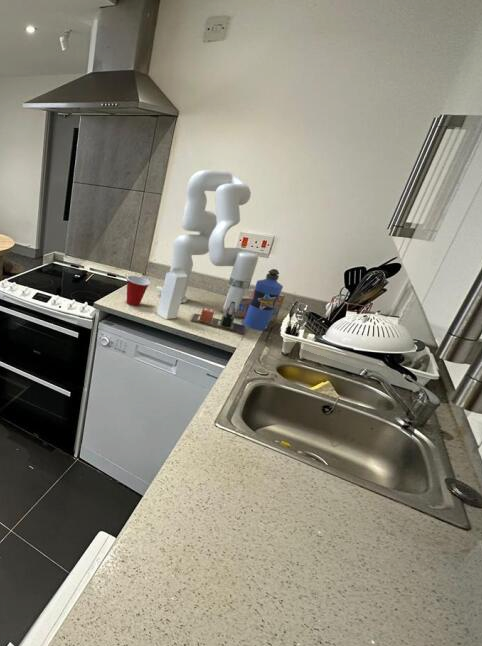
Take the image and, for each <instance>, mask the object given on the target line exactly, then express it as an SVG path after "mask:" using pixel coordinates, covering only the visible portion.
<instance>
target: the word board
mask: <svg viewBox="0 0 482 646" xmlns="http://www.w3.org/2000/svg"><path fill="white" fill-rule="evenodd" d="M200 316H201V314H199V313H194V314H193V316H192V318H191V320H190V322H192V323H195V324H200V325H204V326H207V327H211V328H216V329H219V330H223V331H226V332H230V333H231V332H232V333H235V334H239V335H244V333H245V325H244V324H240V323H236V322H233V325H232V328H230V327H225V326H222V325H220V322H221V318H217V317H213V318H212V321H211V323H210V322H206V321H202V320H200Z"/></svg>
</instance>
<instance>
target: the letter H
mask: <svg viewBox="0 0 482 646" xmlns="http://www.w3.org/2000/svg"><path fill="white" fill-rule="evenodd" d="M200 315H201V316H200V320H202V321H206V322H210V323H211V321H212V318H214V315H215V309H213V308H208V307H203V308H202V310H201V314H200Z"/></svg>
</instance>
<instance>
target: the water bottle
mask: <svg viewBox="0 0 482 646" xmlns="http://www.w3.org/2000/svg"><path fill="white" fill-rule="evenodd" d="M279 277H280V272H279V271H278V269H275V268H271V269H270V270H268V273H266V276H265V278H264V279H258V280H256V283H255V287H254V289H255V291H254V296H253V299H252V301H251V303H250V305H249V308H248V311H247V313H246V316H245V318H244V319H243V322H242V323H243V324H242V325H244V326H246V327H248V328H250V329H253V330H258V331H266V330H267V329H268V327H269V324H270V322H271V321H270V319H271V316H272V313H273V311H274V306H275V302H276V300H277V298H278V296H279V294H280V293H281V294H282V291H283V288H284V286H283V285H282V284H281V283H280V282H278V280H279ZM266 326H268V327H267V328H265V327H266Z"/></svg>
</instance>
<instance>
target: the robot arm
mask: <svg viewBox="0 0 482 646" xmlns="http://www.w3.org/2000/svg"><path fill="white" fill-rule="evenodd" d="M206 192H214V199H215V200H214V202H215V213H214V212H213V211H212V210H206V207H207V204H208V203H207V202H208V199H207V194H206ZM250 198H251V188H249V186H248V185H247V183H245V182H244V181H243V180H242V179H240V178H239V177H238V176H237V175H235V174H234V173H232V172H230V171H228V170H227V171H226V170H217V169H203V170H199V171H196V172H195V173H193V175H192V176H191V177H190V178H189V180H188V183H187V188H186V200H185V205H184V212H183V216H182V219H181V220H182V222H181V227H182V229H183V230H184V231H186V232H191V233H189V234H187V233H186V234H181V235H178V236H177V237H176V238H175V240H174V242H173V251H172V252H173V253H172V260H171V263H170V269H169V272H171V271H173V268H175V267H184V270H183V271H184V272H185V274H186V275H187V280H186V284H185V288H184V292H183V295H182V299H181V303H180V304H183V303H187V302H188V297H187V296H186V294H187V290H188V285H189V282H190V278H191V275H192V271H193V267H194V261H193V258H192V256H203V255H206V254H208V256H209V260H210V262H211V263H212V265H213V266H215V267H232V269H231V274H230V277H229V280H228V283H227V286H228V287H229V289H228V291H227V294H226V297H227V298H226V297H225V299H226V301H225V300H224V302H225V304H224V303H223V306H224V308H223V307H222V309H224V310H225V309H226V310H227V311H226V315H225V316H224V319H223V322H222V326H225V327H230V325H231V322H232V319H233V318H232V317H233V314H234V311H235V312H236V311H237V309H238V306H239V304H240V302H241V299H242V296H243V294H244V293H245V291H246V290H250V285H251V282H252V280H253V276H254V274H255V270H256V267H257V264H258V261H259V256H258V254H256V253H253V252H249V251H246V250H244V249H242V248H240V247H225V237H226V235H227V233H228V231H229V230H230V229H231V228H232V227H235V226H237V225H238V224H240V222H241V211H240V206H243V205H246V204H247V203H248V202H249V201H250ZM192 232H195V233H192ZM196 232H197V234H196ZM162 290H163V287H161V286H158V285H157V286H156V287H155V291H157V292H160V297H161V294H162Z"/></svg>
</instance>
